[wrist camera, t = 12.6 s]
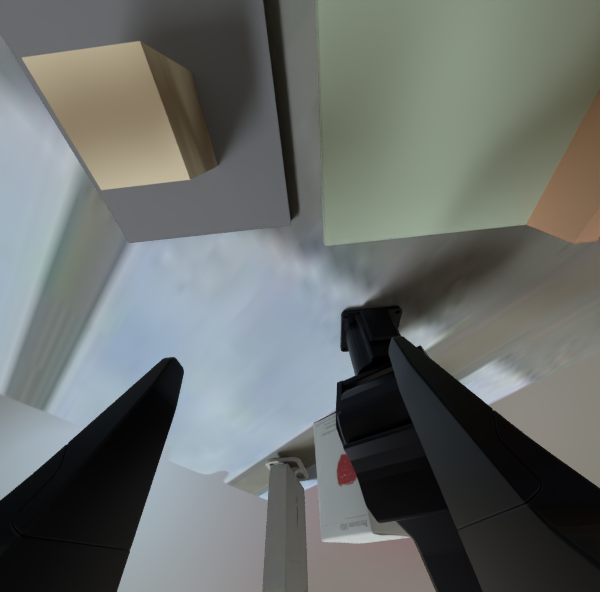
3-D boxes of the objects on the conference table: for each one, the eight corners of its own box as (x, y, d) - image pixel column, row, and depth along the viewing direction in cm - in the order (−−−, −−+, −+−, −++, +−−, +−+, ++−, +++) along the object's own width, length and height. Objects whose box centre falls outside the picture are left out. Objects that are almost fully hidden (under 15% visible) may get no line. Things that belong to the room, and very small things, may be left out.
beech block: (218, 165, 14) (190, 179, 10) (153, 173, 14) (101, 190, 10) (191, 71, 12) (139, 41, 8) (112, 82, 12) (21, 57, 8)
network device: (311, 480, 65) (318, 594, 49) (282, 483, 66) (280, 596, 50) (296, 450, 49) (299, 602, 34) (259, 454, 50) (244, 605, 34)
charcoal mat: (291, 221, 18) (290, 225, 17) (136, 238, 18) (129, 243, 17) (255, -67, 10) (252, -85, 9) (-18, -25, 10) (-44, -38, 9)
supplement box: (347, 404, 37) (374, 534, 25) (378, 419, 41) (415, 537, 29) (311, 423, 41) (319, 543, 29) (342, 434, 45) (361, 545, 33)
